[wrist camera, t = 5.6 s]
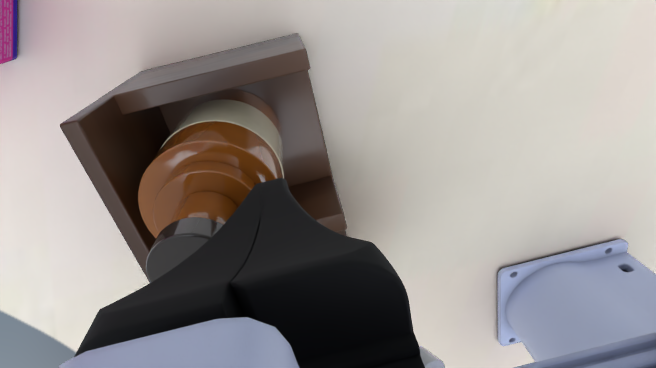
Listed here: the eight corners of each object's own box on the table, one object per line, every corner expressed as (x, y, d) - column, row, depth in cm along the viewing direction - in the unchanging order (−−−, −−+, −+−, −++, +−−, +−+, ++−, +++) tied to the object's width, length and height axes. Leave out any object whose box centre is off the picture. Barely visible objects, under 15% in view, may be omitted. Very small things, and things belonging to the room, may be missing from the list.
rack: (298, 32, 19) (312, 62, 12) (355, 275, 27) (385, 383, 19) (140, 71, 19) (57, 124, 12) (241, 303, 27) (229, 422, 19)
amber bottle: (267, 77, 19) (256, 169, 9) (293, 169, 21) (304, 314, 12) (165, 101, 19) (53, 218, 9) (203, 190, 21) (143, 353, 12)
